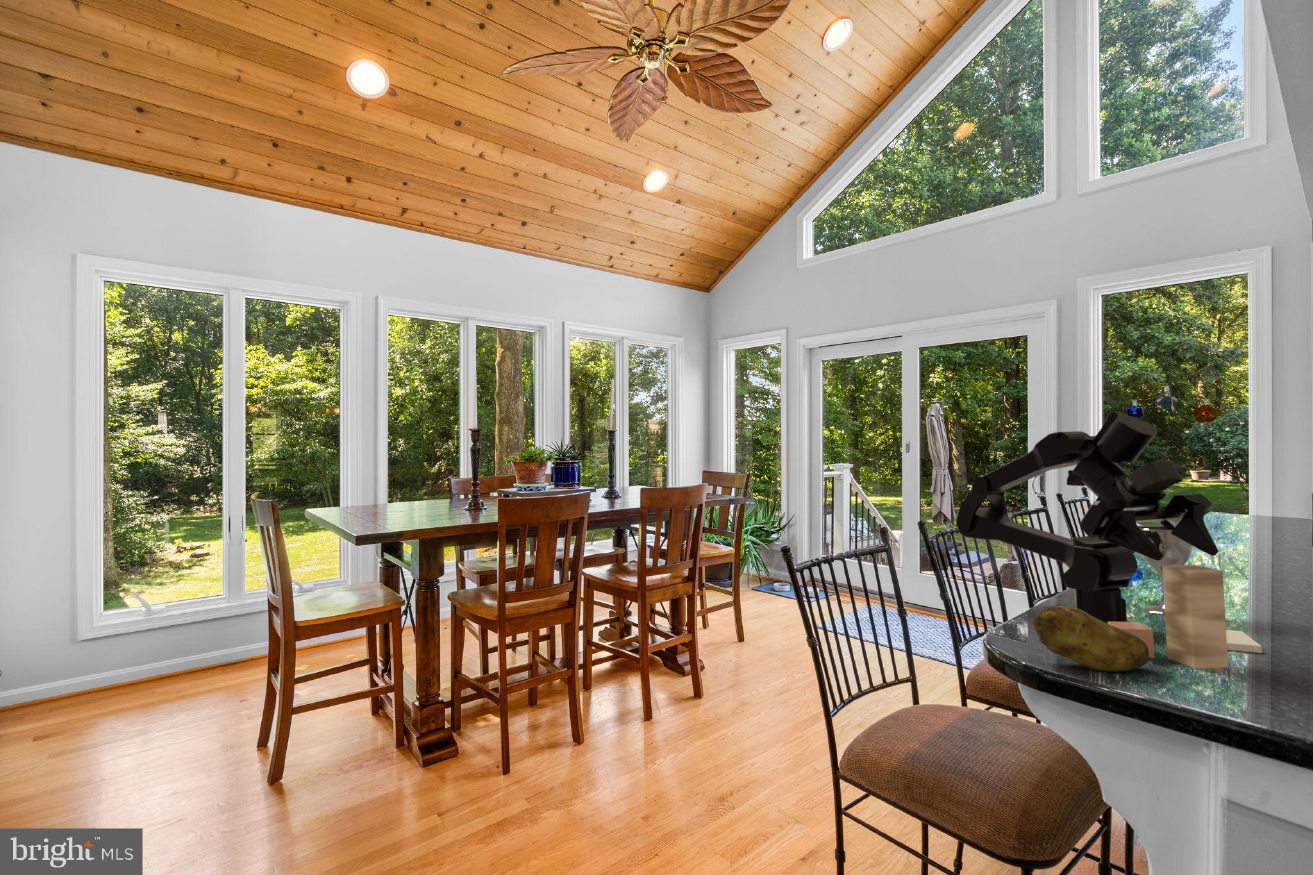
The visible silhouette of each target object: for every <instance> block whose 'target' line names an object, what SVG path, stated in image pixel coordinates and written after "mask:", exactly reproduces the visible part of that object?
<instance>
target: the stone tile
mask: <svg viewBox="0 0 1313 875" xmlns="http://www.w3.org/2000/svg"><path fill="white" fill-rule="evenodd" d="M1226 638H1227V651H1232V652H1233V651H1234V652H1236V651H1237V652H1246V653H1257V654H1262V653H1263V647H1262V645H1261V644H1259V643H1258V642H1257V641H1255V640H1253V638H1251V637H1250V636H1249V635H1248V634H1246V633H1245V632H1243V631H1242V630H1230V629H1226Z"/></svg>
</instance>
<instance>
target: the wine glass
mask: <svg viewBox="0 0 1313 875" xmlns="http://www.w3.org/2000/svg"><path fill="white" fill-rule="evenodd" d="M1137 526H1138V527H1139V528H1140V529H1141V530H1142V531H1143V532H1144V533H1145V534H1146V536H1147V537H1148V538H1149V539H1150V540H1151V541H1152V542H1153V543H1154V544H1155V545H1156V546H1157V548H1158V549H1159V550H1160V551H1161V553H1162V554H1163V558H1162V559H1161V560H1160V561H1157V560H1154V559H1152V558H1149V557H1147V556H1144V555H1142V554H1140V555H1141V558H1142V559H1143V560H1144V561H1145V562H1146V563H1147V564H1148V566H1150V567H1151V568H1152V569H1153V570H1154V571H1155V572H1156V573H1157V575H1158V576H1159V578H1160V579H1161V580H1160V581H1161V584H1162V585H1163V570H1162V566H1170V565H1187V562H1189V560H1190V558H1191V554H1192V550H1193V546H1192V545H1190V544H1189V543H1187V542H1185V541H1183V540H1182V539H1180V538H1178V537H1176V536H1174V535H1172V534H1171V532H1172V530H1170V529H1167V528H1165V527H1164V526H1163V525H1162V524H1142V525H1139V524H1138V525H1137ZM1162 589H1163V590H1164V588H1163V587H1162ZM1142 610H1143V611H1145V612H1148V613H1151V614H1155V615H1161V616H1165V606H1164V603H1162V604H1159V605H1147V606H1144V607H1142Z"/></svg>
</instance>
